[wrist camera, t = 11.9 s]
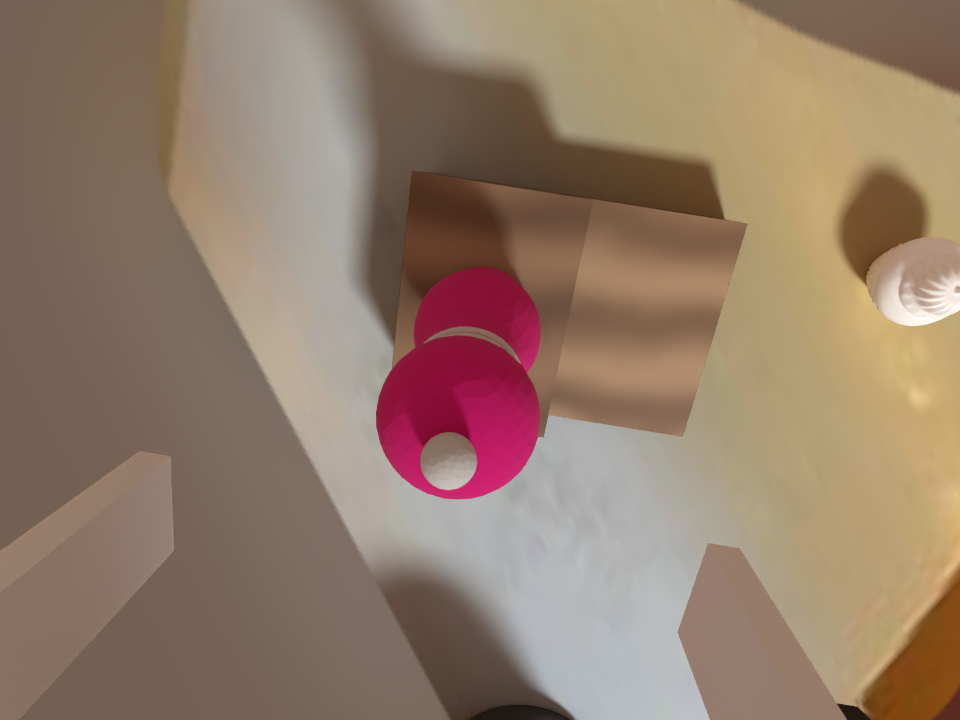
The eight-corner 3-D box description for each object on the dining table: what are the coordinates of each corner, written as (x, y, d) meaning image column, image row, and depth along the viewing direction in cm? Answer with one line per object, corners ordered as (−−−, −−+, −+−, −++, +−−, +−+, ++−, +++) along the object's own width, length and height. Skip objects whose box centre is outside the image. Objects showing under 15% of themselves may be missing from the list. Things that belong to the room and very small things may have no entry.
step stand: (668, 414, 45) (700, 462, 37) (408, 373, 45) (387, 412, 37) (725, 219, 40) (775, 229, 32) (431, 172, 40) (412, 171, 32)
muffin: (831, 304, 41) (892, 328, 35) (866, 223, 39) (938, 232, 33) (909, 321, 41) (985, 348, 35) (948, 242, 39) (1036, 254, 33)
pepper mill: (403, 301, 35) (275, 447, 16) (494, 234, 33) (470, 309, 14) (470, 386, 37) (424, 610, 18) (559, 327, 35) (615, 503, 16)
